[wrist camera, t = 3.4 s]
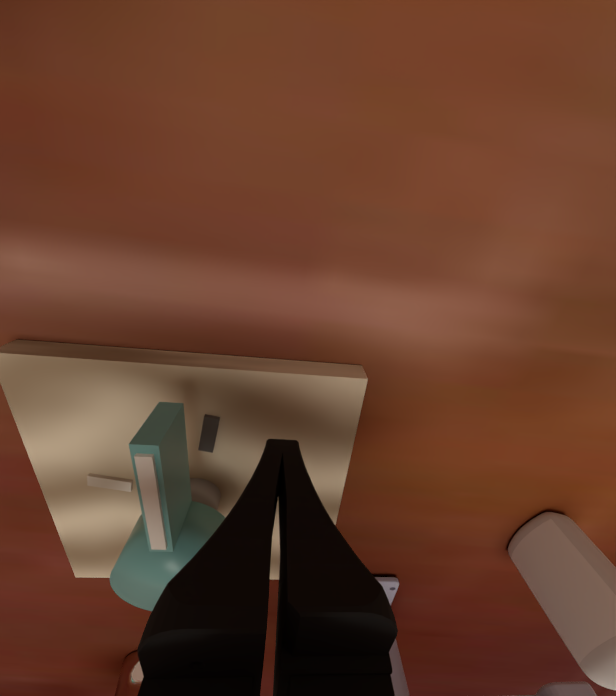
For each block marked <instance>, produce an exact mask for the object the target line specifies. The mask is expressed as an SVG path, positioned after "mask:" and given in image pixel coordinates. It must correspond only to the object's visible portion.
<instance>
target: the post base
mask: <svg viewBox="0 0 616 696" xmlns="http://www.w3.org/2000/svg"><path fill="white" fill-rule="evenodd" d="M367 381H368V378H367V376H366V374H365V371H364V369H363V367H362V365H350V364H337V363H324V362H310V361H297V360H284V359H270V358H257V357H244V356H231V355H217V354H204V353H191V352H177V351H164V350H151V349H137V348H124V347H111V346H97V345H84V344H71V343H57V342H44V341H31V340H14V341H12V342H10V343H8V344H5V345H3V346H1V347H0V383H1V386H2V388H3V391H4V393H5V396H6V399H7V401H8V404H9V406H10V409H11V412H12V414H13V417H14V419H15V422H16V425H17V427H18V430H19V432H20V435H21V437H22V440H23V443H24V445H25V448H26V450H27V453H28V456H29V458H30V461H31V463H32V466H33V469H34V471H35V474H36V476H37V479H38V482H39V484H40V487H41V489H42V492H43V494H44V497H45V500H46V502H47V505H48V507H49V510H50V513H51V515H52V518H53V520H54V523H55V526H56V528H57V531H58V533H59V536H60V539H61V541H62V544H63V546H64V549H65V551H66V554H67V557H68V559H69V562H70V564H71V567H72V570H73V572H74V575H75V577H88V578H110V574H111V571H112V570H113V568H114V566H115V564H116V562H117V560H118V558H119V556H120V554H121V552H122V550H123V548H124V546H125V544H126V542H127V540H128V538H129V536H130V534H131V532H132V530H133V528H134V526H135V524H136V523H137V521H138V519H139V517H140V515H141V514H142V511H141V506H140V501H139V496H138V491H137V485H136V480H135V475H134V470H133V465H132V459H131V454H130V449H129V443H130V442H131V440H132V439H133V437H134V436H135V435H136V433H137V432H138V430H139V429H140V428H141V426H142V425H143V423H144V422H145V421H146V419H147V418H148V417H149V415H150V414H151V412H152V411H153V410H154V408H155V407H156V405H157V404H158V403H159V402H172V403H184V415H185V427H186V439H187V450H188V462H189V474H190V486H191V497H192V501H195V502H199V503H202V504H205V505H208V506H210V507H212V508H214V509H215V510H217V511H218V512H220V513H221V514H222V515H223V516H224V517H225V518H226V516H227V515H228V514H229V512H230V511H231V509H232V508H233V507H234V505H235V504H236V502H237V501H238V499H239V498H240V496H241V494H242V493H243V491H244V489H245V488H246V486H247V484H248V482H249V481H250V479H251V477H252V475H253V473H254V471H255V469H256V467H257V465H258V463H259V461H260V459H261V456H262V454H263V451H264V448H265V445H266V441H267V440H268V439H286V440H297V441H298V442H299V447H300V451H301V455H302V458H303V461H304V464H305V467H306V469H307V472H308V474H309V477H310V479H311V481H312V484H313V486H314V488H315V490H316V492H317V494H318V496H319V498H320V500H321V502H322V504H323V506H324V508H325V509H326V511H327V513H328V514H329V516H330V518H331V519H332V521H333V523H334V524H335V525H336V520H337V516H338V511H339V507H340V502H341V498H342V493H343V489H344V484H345V480H346V475H347V471H348V466H349V462H350V457H351V453H352V449H353V444H354V440H355V435H356V431H357V426H358V422H359V417H360V413H361V408H362V404H363V399H364V395H365V390H366V386H367ZM279 570H280V536H279V503H278V501H277V508H276V515H275V521H274V528H273V535H272V546H271V563H270V579H277V580H279Z"/></svg>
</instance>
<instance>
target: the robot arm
mask: <svg viewBox="0 0 616 696" xmlns="http://www.w3.org/2000/svg"><path fill="white" fill-rule="evenodd" d="M277 501H278V503H279V536H280V570H279V591H278V611H277V630H276V649H275V668H274V686H273V696H409V692H408V687H407V683H406V679H405V675H404V671H403V667H402V662H401V658H400V654H399V650H398V646H397V642H396V636H397V632H398V630H397V626H396V621H395V617H394V614H393V612H392V609H391V603H392V601H393V599H394V596H395V594H396V591H397V589H398V587H399V581H398V579H397V578H395V577H374V576H373V575H372V574H371V573H370V571H369V570H368V569H367V568H366V567H365V565H364V564H363V563H362V562H361V560H360V559H359V558H358V557H357V555H356V554H355V553H354V552H353V550H352V549H351V547H350V546H349V545H348V543H347V542H346V540H345V539H344V538H343V536H342V535H341V533H340V532H339V531H338V529H337V527H336V526H335V524H334V523H333V521H332V519H331V518H330V516H329V514H328V513H327V511H326V509H325V508H324V506H323V504H322V502H321V500H320V498H319V496H318V494H317V492H316V490H315V488H314V486H313V484H312V481H311V479H310V477H309V474H308V472H307V469H306V467H305V464H304V461H303V458H302V455H301V451H300V447H299V442H298V441H297V440H286V439H268V440H267V441H266V445H265V448H264V451H263V454H262V456H261V459H260V461H259V463H258V465H257V467H256V469H255V471H254V473H253V475H252V477H251V479H250V481H249V482H248V484H247V486H246V488H245V489H244V491H243V493H242V494H241V496H240V498H239V499H238V501H237V502H236V504H235V505H234V507H233V508H232V509H231V511H230V512H229V514H228V515H227V516H226V518H225V519H224V520H223V522H222V523H221V524H220V526H219V527H218V528H217V530H216V531H215V532H214V533H213V535H212V536H211V537H210V538H209V539H208V541H207V542H206V543H205V544H204V545H203V546H202V547H201V549H200V550H199V551H198V552H197V553H196V554H195V555H194V557H193V558H192V559H191V560H190V561H189V562H188V563H187V564H186V565H185V566H184V567H183V568H182V569H181V570H180V571H179V572H178V573H177V574H176V575H175V576H174V577H173V578H172V579H171V580H170V581H169V582H168V584H167V585H166V587H165V589H164V590H163V592H162V594H161V595H160V597H159V599H158V601H157V603H156V605H155V607H154V609H153V611H152V613H151V615H150V617H149V619H148V622H147V624H146V627H145V630H144V632H143V635H142V638H141V641H140V644H139V646H138V658H139V662H140V665H141V669H142V672H143V676H144V677H143V680H142V683H141V686H140V689H139V692H138V695H137V696H260V689H261V679H262V671H263V661H264V651H265V640H266V629H267V614H268V598H269V580H270V563H271V546H272V535H273V528H274V521H275V515H276V508H277ZM518 696H597V695H596V694H595V692H594V690H593V689H592V687H591V686H590V684H588V683H587V682H554V683H549V684H546V685H544V686H542V687H541V688H540V689H539V690H538V691H537V694H536V695H518Z"/></svg>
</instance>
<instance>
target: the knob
mask: <svg viewBox="0 0 616 696" xmlns="http://www.w3.org/2000/svg"><path fill="white" fill-rule="evenodd" d="M129 449H130V454H131V459H132V465H133V470H134V475H135V480H136V485H137V491H138V496H139V501H140V506H141V511H142V514H141V515H140V517H139V519H138V521H137V523H136V524H135V526H134V528H133V530H132V532H131V534H130V536H129V538H128V540H127V542H126V544H125V546H124V548H123V550H122V552H121V554H120V556H119V558H118V560H117V562H116V564H115V566H114V568H113V570H112V571H111V574H110V584H111V587H112V589H113V590H114V592H115V593H116V594H117V595H118V596H119V597H120V598H122V599H123V600H124V601H126V602H128V603H130V604H132V605H134V606H136V607H139V608H142V609H145V610H149V611H153V609H154V607H155V605H156V603H157V601H158V599H159V597H160V595H161V594H162V592H163V590H164V589H165V587H166V585H167V584H168V582H169V581H170V580H171V579H172V578H173V577H174V576H175V575H176V574H177V573H178V572H179V571H180V570H181V569H182V568H183V567H184V566H185V565H186V564H187V563H188V562H189V561H190V560H191V559H192V558H193V557H194V555H195V554H196V553H197V552H198V551H199V550H200V549H201V547H202V546H203V545H204V544H205V543H206V542H207V541H208V539H209V538H210V537H211V536H212V535H213V533H214V532H215V531H216V530H217V528H218V527H219V526H220V524H221V523H222V522H223V520H224V519H225V517H224V516H223V515H222V514H221V513H220V512H218V511H217V510H215V509H214V508H212V507H210V506H208V505H205V504H202V503H199V502H195V501H192V497H191V486H190V474H189V462H188V450H187V439H186V427H185V415H184V403H172V402H159V403H158V404H157V405H156V407H155V408H154V410H153V411H152V412H151V414H150V415H149V417H148V418H147V419H146V421H145V422H144V423H143V425H142V426H141V428H140V429H139V430H138V432H137V433H136V435H135V436H134V437H133V439H132V440H131V442H130V443H129Z"/></svg>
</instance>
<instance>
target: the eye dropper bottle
mask: <svg viewBox="0 0 616 696" xmlns="http://www.w3.org/2000/svg"><path fill="white" fill-rule="evenodd" d="M508 553H509V556H510V558H511V559H512V561H513V563H514V564H515V566H516V567H517V569H518V571H519V572H520V574H521V575H522V577H523V579H524V580H525V582H526V583H527V585H528V586H529V588H530V590H531V591H532V593H533V594H534V596H535V598H536V599H537V601H538V602H539V604H540V605H541V607H542V609H543V610H544V612H545V613H546V615H547V616H548V618H549V620H550V621H551V623H552V624H553V626H554V627H555V629H556V631H557V632H558V634H559V635H560V637H561V638H562V640H563V642H564V643H565V645H566V646H567V648H568V649H569V651H570V652H571V654H572V655H573V657H574V659H575V660H576V662H577V663H578V665H579V666H580V667H581V669H582V670H583V672H584V673H585V674H586V675H587V676H588V677H589V678H590V679H591V680H592V681H594V682H595V683H597V684H599V685H601V686H603V687H605V688H608V689H612V690H616V567H615V566H614V565H613V564H612V563H611V562H610V561H609V560H608V558H607V557H606V556H605V555H604V554H603V553H602V552H601V551H600V550H599V549H598V547H597V546H596V545H595V544H594V543H593V542H592V541H591V540H590V539H589V538H588V537H587V535H586V534H585V533H584V532H583V531H582V530H581V529H580V528H579V527H578V526H577V524H576V523H575V522H574V521H573V520H572V519H571V518H569V517H568V516H566V515H562V514H558V513H554V512H545V513H542V514H540V515H538V516H536V517H535V518H533V519H532V520H530V521H529V522H527V523H526V524H525V525H524V526H523V527H521V528H520V529H519V530H518V531H517V533H516V534H515V535H514V537H513V538H512V540H511V542H510V544H509V546H508Z"/></svg>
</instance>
